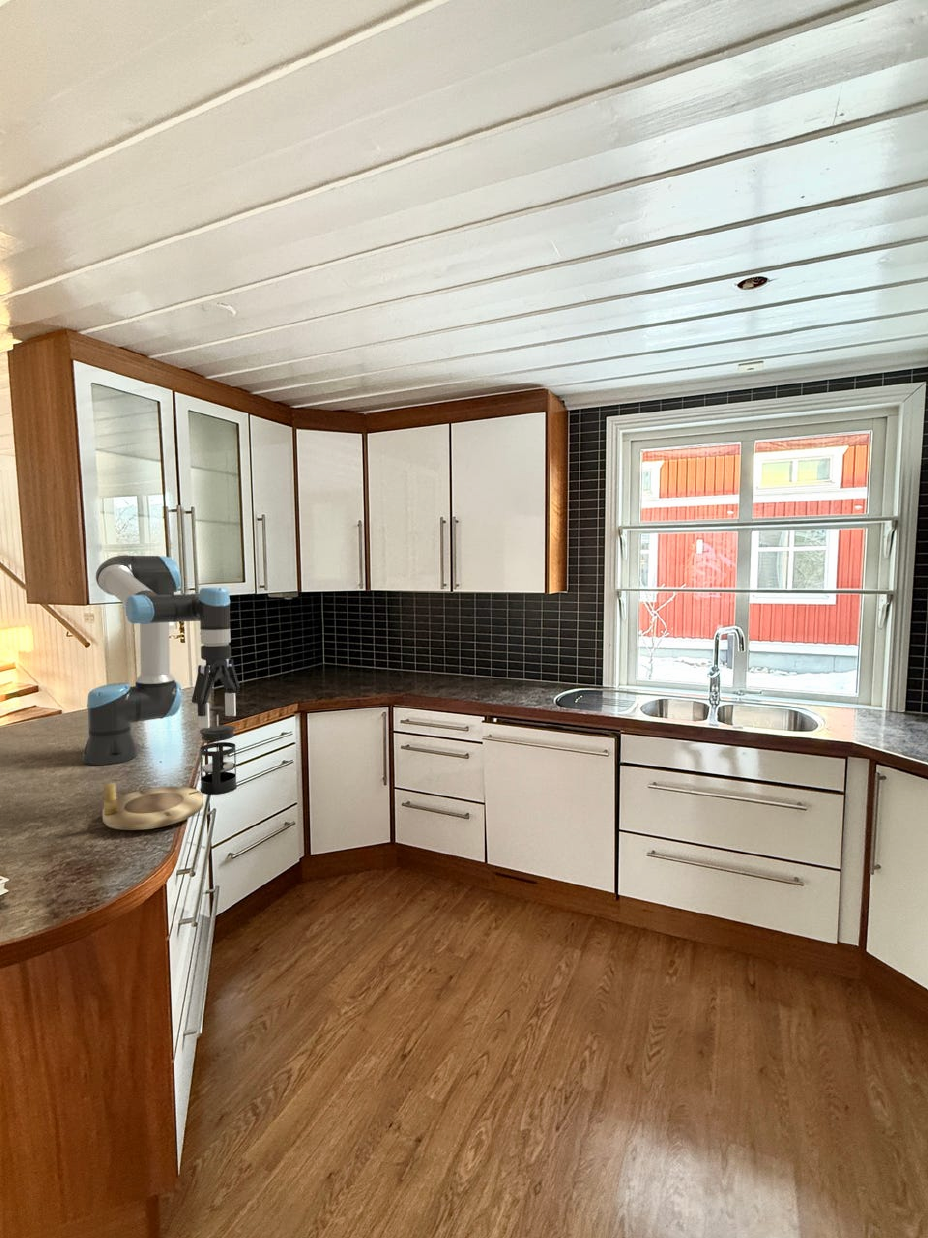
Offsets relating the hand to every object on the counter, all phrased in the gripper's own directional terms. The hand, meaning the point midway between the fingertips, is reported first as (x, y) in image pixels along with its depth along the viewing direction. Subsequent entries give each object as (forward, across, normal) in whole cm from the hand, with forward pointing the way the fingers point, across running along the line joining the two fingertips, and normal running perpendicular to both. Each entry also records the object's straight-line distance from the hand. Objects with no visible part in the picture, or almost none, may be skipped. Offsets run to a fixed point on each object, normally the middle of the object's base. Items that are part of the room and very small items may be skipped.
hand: (217, 721), depth 164 cm
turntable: (+18, +19, -6) cm, 27 cm away
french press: (+19, 0, 0) cm, 19 cm away
